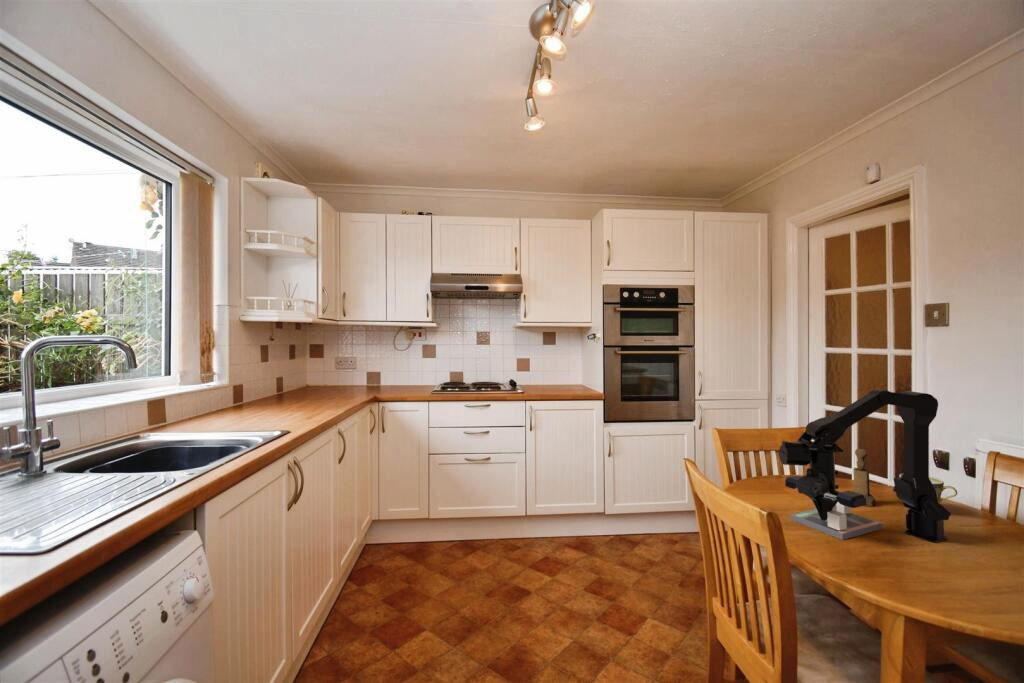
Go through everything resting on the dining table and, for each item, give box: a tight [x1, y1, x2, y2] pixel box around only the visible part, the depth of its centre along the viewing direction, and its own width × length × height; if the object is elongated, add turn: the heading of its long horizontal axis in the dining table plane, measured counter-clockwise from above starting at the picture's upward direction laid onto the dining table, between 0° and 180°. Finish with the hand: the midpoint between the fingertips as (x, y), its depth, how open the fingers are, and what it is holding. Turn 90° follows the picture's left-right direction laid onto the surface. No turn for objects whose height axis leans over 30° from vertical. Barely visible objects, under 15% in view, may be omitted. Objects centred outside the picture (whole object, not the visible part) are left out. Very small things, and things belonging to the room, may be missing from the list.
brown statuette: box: [853, 448, 876, 507], centre depth 134 cm, size 7×6×18 cm
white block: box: [837, 502, 852, 514], centre depth 123 cm, size 3×3×4 cm
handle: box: [827, 510, 847, 531], centre depth 112 cm, size 3×3×4 cm
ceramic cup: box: [898, 473, 958, 504], centre depth 126 cm, size 13×10×10 cm
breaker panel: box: [790, 508, 884, 541], centre depth 118 cm, size 14×18×2 cm
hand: (823, 520), depth 115 cm, fingers closed
